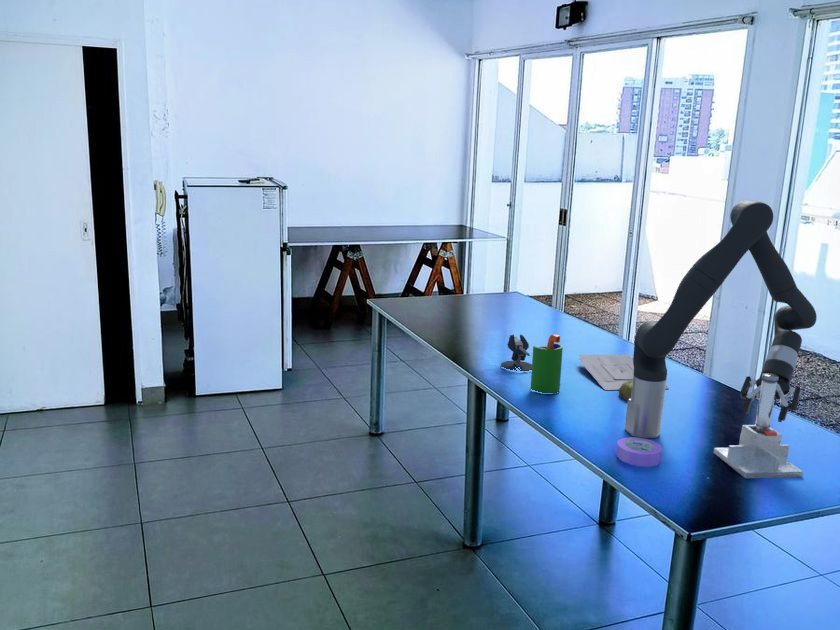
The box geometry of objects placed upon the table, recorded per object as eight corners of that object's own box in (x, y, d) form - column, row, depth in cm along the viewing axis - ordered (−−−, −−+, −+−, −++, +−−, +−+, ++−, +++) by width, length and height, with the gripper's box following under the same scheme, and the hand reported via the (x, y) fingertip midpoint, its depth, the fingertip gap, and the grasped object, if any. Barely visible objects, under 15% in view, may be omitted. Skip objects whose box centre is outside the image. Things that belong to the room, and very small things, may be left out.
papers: (632, 360, 292) (633, 352, 291) (668, 395, 264) (670, 386, 263) (572, 361, 288) (573, 352, 286) (603, 397, 260) (604, 387, 259)
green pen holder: (542, 383, 263) (546, 328, 259) (564, 390, 258) (570, 333, 253) (526, 390, 256) (531, 333, 251) (549, 397, 250) (554, 338, 246)
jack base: (744, 479, 195) (750, 439, 192) (710, 452, 211) (716, 415, 208) (805, 477, 197) (811, 438, 194) (767, 450, 213) (773, 414, 211)
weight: (652, 392, 260) (654, 378, 259) (666, 405, 247) (668, 391, 246) (613, 391, 260) (615, 377, 259) (625, 404, 247) (626, 390, 246)
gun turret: (512, 379, 267) (515, 344, 264) (495, 362, 286) (497, 329, 283) (546, 378, 270) (549, 343, 267) (526, 362, 288) (529, 329, 285)
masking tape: (607, 456, 205) (609, 443, 204) (630, 446, 213) (631, 433, 212) (646, 471, 197) (648, 457, 196) (668, 459, 205) (670, 446, 204)
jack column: (754, 460, 201) (767, 377, 196) (746, 454, 205) (758, 373, 200) (768, 460, 202) (781, 377, 196) (760, 454, 206) (772, 373, 200)
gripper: (750, 353, 207) (733, 403, 201) (807, 363, 199) (791, 416, 193) (753, 367, 213) (736, 416, 206) (808, 378, 204) (792, 430, 198)
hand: (762, 416), depth 200 cm, fingers open, 8 cm apart
